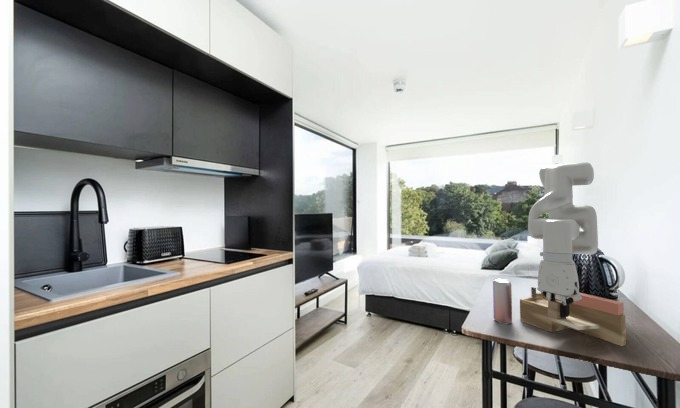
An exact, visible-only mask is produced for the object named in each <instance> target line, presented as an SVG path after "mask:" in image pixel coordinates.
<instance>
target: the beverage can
mask: <svg viewBox="0 0 680 408" xmlns="http://www.w3.org/2000/svg"><path fill="white" fill-rule="evenodd" d="M492 289H493V290H492V296H493V297H492V298H493V299H492V300H493V304H492V305H493V320H494V321H495V322H497V323H499V324H506V325H510V324H511V323H512V322H513V301H512V300H513V298H512V297H513V295H512V282H511V280H509V279H505V278H494V279H493V281H492Z"/></svg>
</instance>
